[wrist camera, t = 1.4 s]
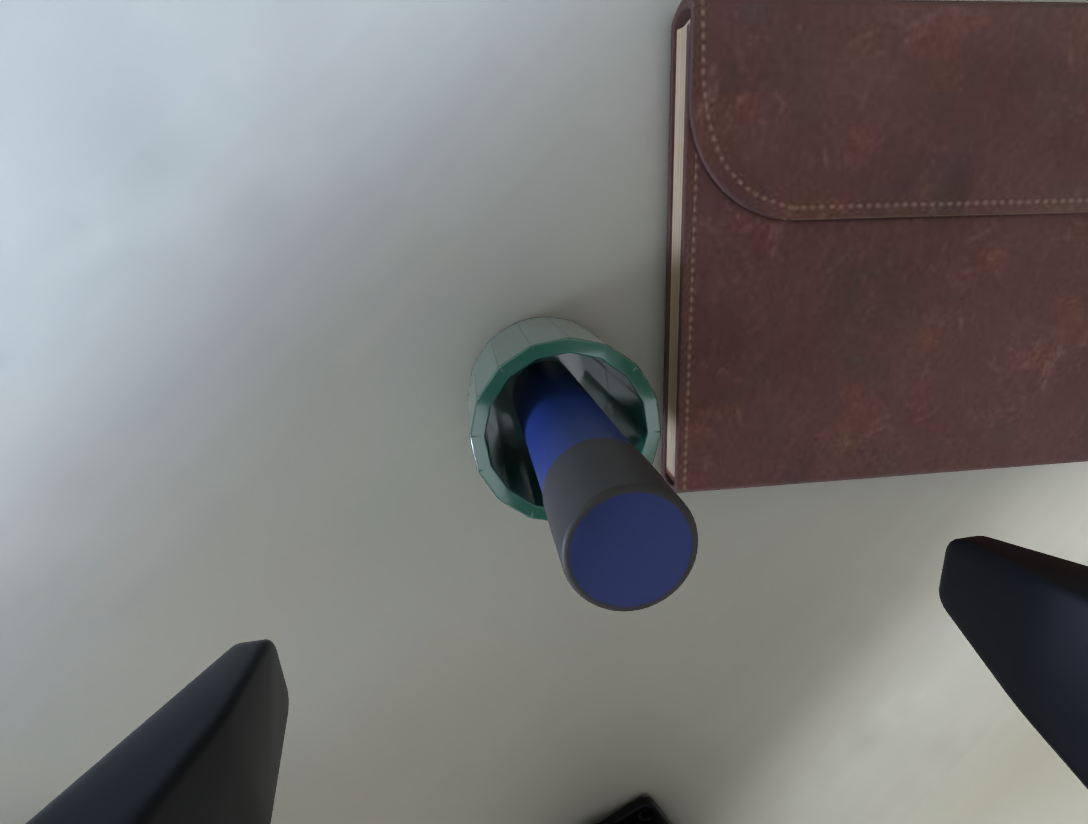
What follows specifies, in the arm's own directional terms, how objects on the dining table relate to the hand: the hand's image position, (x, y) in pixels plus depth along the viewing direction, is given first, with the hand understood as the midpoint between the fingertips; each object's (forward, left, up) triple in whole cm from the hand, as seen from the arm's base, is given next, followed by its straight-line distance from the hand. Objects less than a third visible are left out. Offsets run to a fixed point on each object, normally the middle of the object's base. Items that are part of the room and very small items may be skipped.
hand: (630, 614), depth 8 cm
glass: (0, 0, -13) cm, 13 cm away
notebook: (-4, -14, -14) cm, 20 cm away
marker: (0, 0, -13) cm, 13 cm away
